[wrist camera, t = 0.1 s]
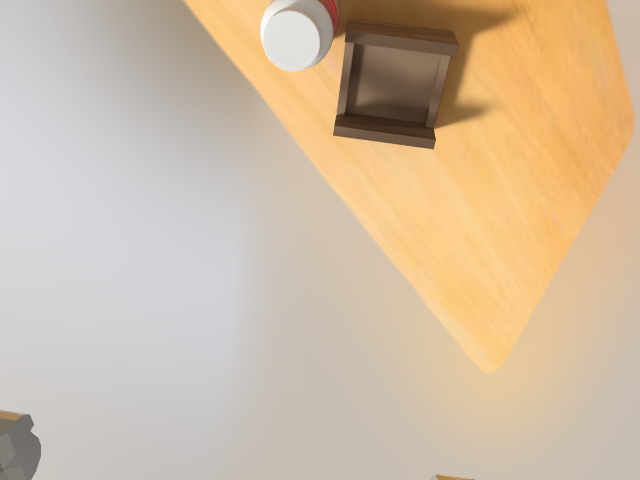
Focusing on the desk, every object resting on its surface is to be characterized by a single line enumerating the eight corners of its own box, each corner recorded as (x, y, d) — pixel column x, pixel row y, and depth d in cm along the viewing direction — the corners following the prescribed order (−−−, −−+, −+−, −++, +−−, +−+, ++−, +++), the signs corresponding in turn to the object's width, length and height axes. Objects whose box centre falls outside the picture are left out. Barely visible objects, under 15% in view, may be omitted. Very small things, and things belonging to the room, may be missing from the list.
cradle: (349, 18, 51) (346, 30, 47) (453, 32, 51) (458, 45, 47) (336, 117, 56) (333, 135, 53) (430, 130, 56) (433, 149, 52)
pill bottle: (325, -34, 49) (312, -14, 39) (349, 32, 52) (341, 64, 42) (265, -7, 50) (239, 18, 41) (291, 55, 53) (272, 91, 44)
